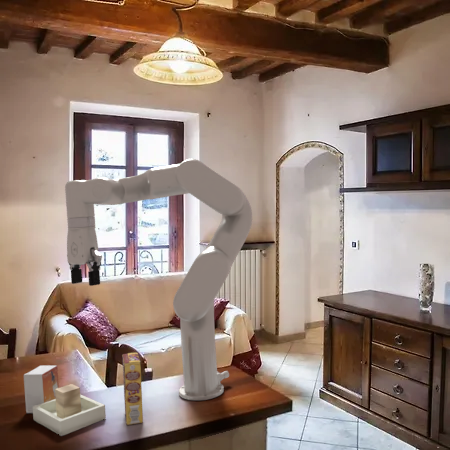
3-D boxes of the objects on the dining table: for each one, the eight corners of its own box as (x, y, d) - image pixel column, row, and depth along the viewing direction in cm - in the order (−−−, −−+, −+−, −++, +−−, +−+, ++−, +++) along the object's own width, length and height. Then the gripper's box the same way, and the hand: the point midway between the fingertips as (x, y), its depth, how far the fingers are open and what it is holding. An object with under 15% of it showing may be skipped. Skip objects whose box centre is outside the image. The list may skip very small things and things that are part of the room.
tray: (76, 404, 134) (75, 392, 134) (105, 418, 124) (104, 404, 123) (33, 420, 125) (32, 406, 125) (61, 436, 115) (60, 421, 115)
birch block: (73, 410, 128) (71, 383, 127) (81, 414, 124) (79, 387, 124) (56, 416, 124) (54, 389, 124) (65, 420, 121) (63, 392, 121)
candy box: (144, 423, 120) (140, 361, 119) (126, 425, 118) (122, 363, 118) (141, 409, 128) (137, 351, 128) (125, 412, 127) (121, 353, 127)
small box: (44, 414, 129) (41, 374, 129) (25, 413, 130) (22, 374, 130) (60, 402, 137) (58, 364, 137) (42, 401, 138) (40, 364, 138)
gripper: (54, 225, 142) (58, 284, 142) (85, 224, 130) (89, 288, 130) (78, 224, 147) (82, 280, 148) (109, 222, 135) (113, 283, 136)
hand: (85, 284), depth 139 cm, fingers open, 9 cm apart
